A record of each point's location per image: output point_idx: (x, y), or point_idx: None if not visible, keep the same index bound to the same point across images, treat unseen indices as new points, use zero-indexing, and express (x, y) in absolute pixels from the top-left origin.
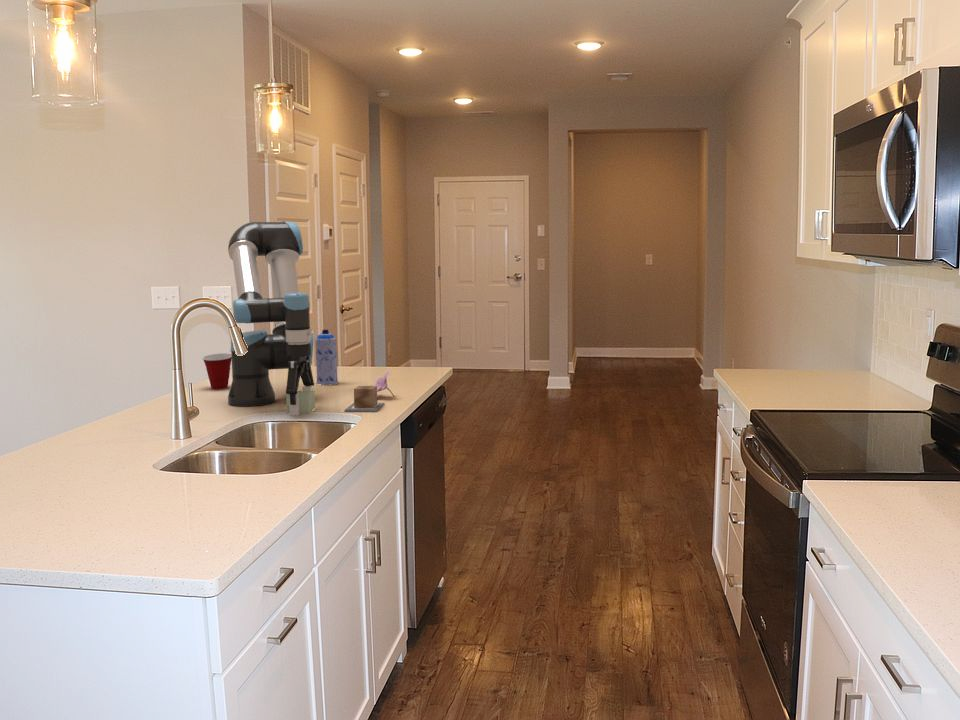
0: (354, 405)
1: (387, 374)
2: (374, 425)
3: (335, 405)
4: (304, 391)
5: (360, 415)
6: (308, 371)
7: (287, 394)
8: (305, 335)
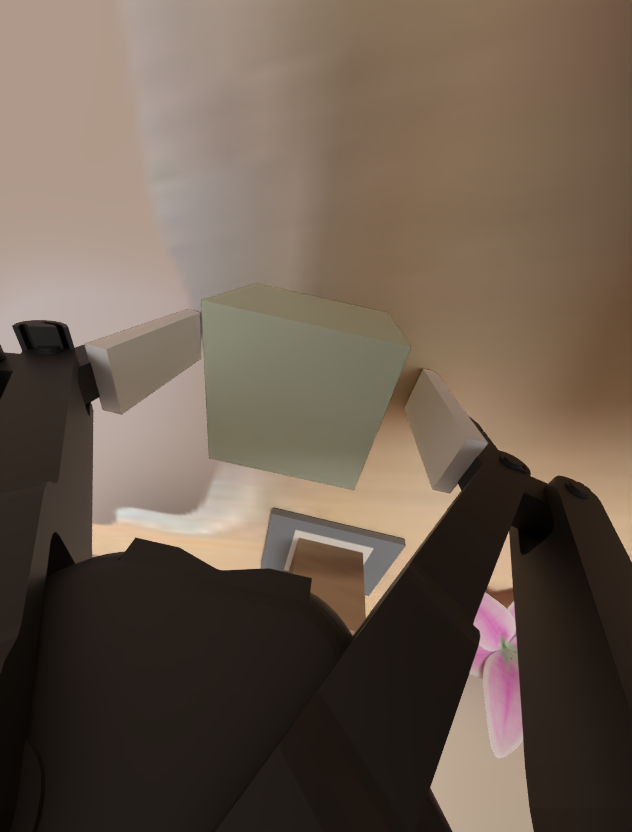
0: (297, 546)
1: (499, 721)
2: (102, 544)
3: (410, 491)
4: (341, 437)
5: (218, 534)
6: (531, 630)
7: (213, 312)
8: None
